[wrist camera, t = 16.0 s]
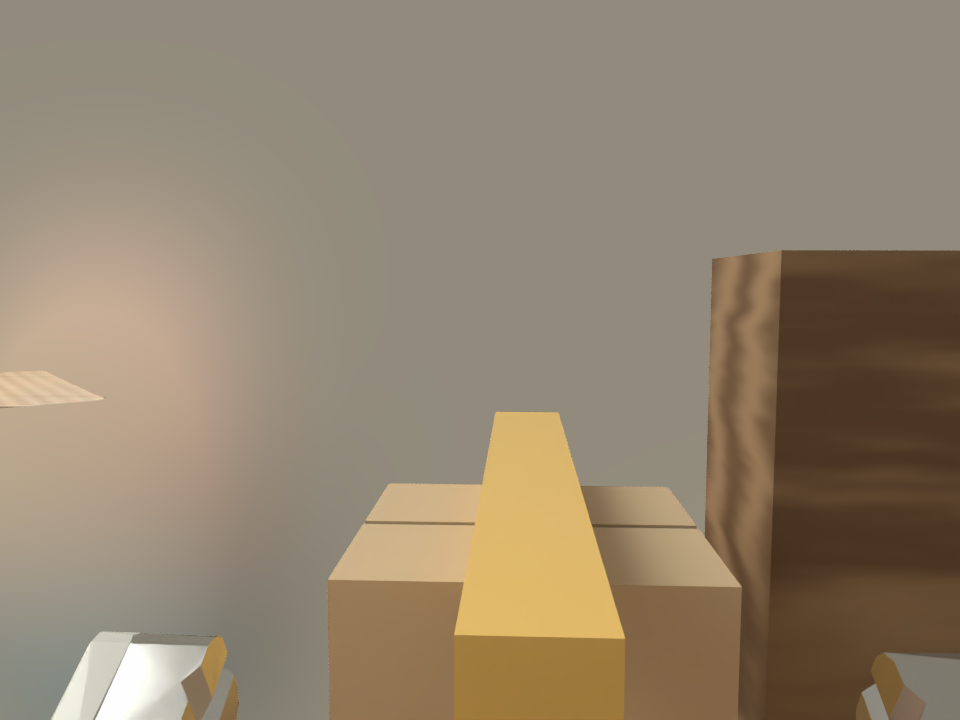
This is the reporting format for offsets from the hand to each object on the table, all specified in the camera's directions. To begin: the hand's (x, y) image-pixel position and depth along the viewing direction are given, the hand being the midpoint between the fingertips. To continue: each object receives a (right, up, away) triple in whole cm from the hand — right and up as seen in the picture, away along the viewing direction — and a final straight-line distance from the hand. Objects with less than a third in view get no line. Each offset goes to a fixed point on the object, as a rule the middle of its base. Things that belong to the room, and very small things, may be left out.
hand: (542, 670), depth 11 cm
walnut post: (+17, -17, +31) cm, 40 cm away
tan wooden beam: (+1, -2, +17) cm, 17 cm away
